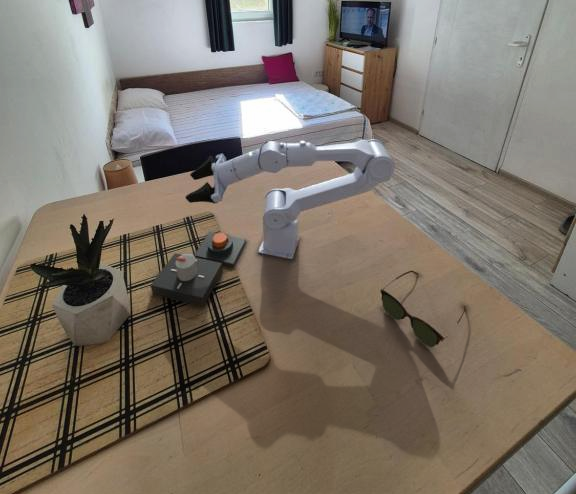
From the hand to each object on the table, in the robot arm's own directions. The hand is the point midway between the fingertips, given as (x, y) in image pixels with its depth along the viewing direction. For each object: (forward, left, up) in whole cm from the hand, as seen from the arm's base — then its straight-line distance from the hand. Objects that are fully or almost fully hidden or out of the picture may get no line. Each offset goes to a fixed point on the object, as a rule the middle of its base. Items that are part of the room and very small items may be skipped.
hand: (190, 187), depth 82 cm
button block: (-7, 0, -19) cm, 20 cm away
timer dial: (-4, +12, -16) cm, 20 cm away
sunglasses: (-58, +5, -19) cm, 61 cm away
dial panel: (-4, +12, -19) cm, 23 cm away
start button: (-7, 0, -16) cm, 18 cm away
